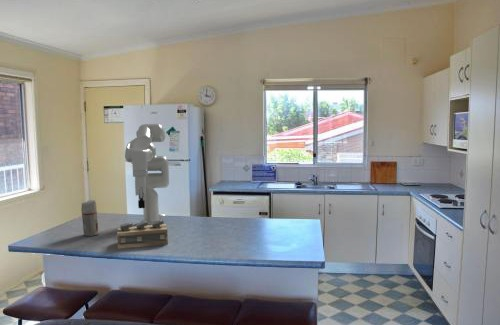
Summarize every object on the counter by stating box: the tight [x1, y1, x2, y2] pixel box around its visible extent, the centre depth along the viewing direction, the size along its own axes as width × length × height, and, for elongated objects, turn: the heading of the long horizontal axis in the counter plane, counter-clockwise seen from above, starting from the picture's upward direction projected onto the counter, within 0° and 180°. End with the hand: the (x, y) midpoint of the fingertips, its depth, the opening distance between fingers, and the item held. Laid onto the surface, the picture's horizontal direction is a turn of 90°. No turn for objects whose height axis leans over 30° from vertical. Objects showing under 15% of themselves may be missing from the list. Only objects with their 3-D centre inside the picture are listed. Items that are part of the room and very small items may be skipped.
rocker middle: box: [135, 221, 149, 229], centre depth 211 cm, size 4×6×2 cm
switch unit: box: [116, 222, 169, 250], centre depth 211 cm, size 12×25×11 cm, turn 106°
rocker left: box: [119, 221, 134, 229], centre depth 209 cm, size 4×6×2 cm
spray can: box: [80, 199, 99, 237], centre depth 228 cm, size 8×8×20 cm
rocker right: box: [151, 218, 165, 227], centre depth 213 cm, size 4×6×2 cm
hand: (141, 207), depth 210 cm, fingers closed
